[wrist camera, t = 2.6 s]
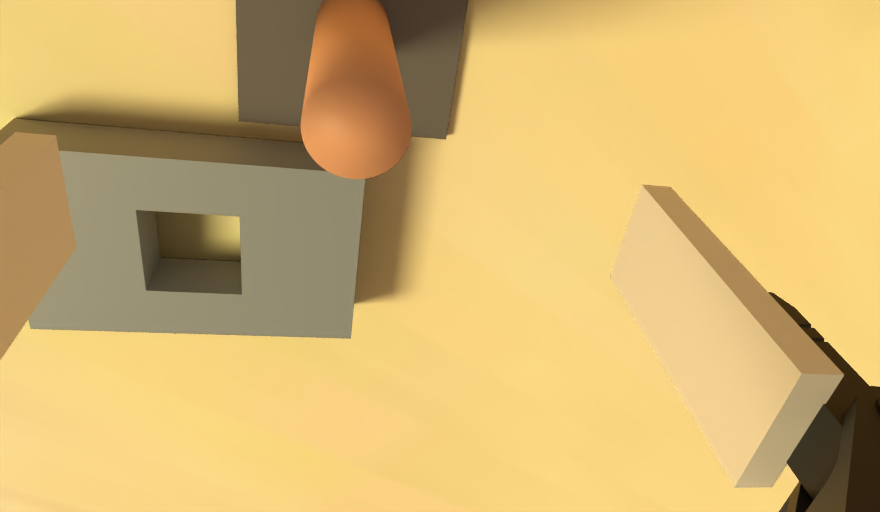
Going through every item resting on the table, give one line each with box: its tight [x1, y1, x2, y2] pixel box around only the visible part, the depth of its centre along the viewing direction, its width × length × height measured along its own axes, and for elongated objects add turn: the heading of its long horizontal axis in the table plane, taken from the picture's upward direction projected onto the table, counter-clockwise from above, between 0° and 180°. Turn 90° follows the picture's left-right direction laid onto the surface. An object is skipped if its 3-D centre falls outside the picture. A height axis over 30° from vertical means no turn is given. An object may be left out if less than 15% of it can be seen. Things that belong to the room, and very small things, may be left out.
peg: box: [301, 0, 412, 179], centre depth 23 cm, size 3×3×12 cm
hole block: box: [0, 118, 365, 339], centre depth 32 cm, size 16×10×3 cm, turn 82°
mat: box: [236, 0, 468, 139], centre depth 29 cm, size 10×10×1 cm
